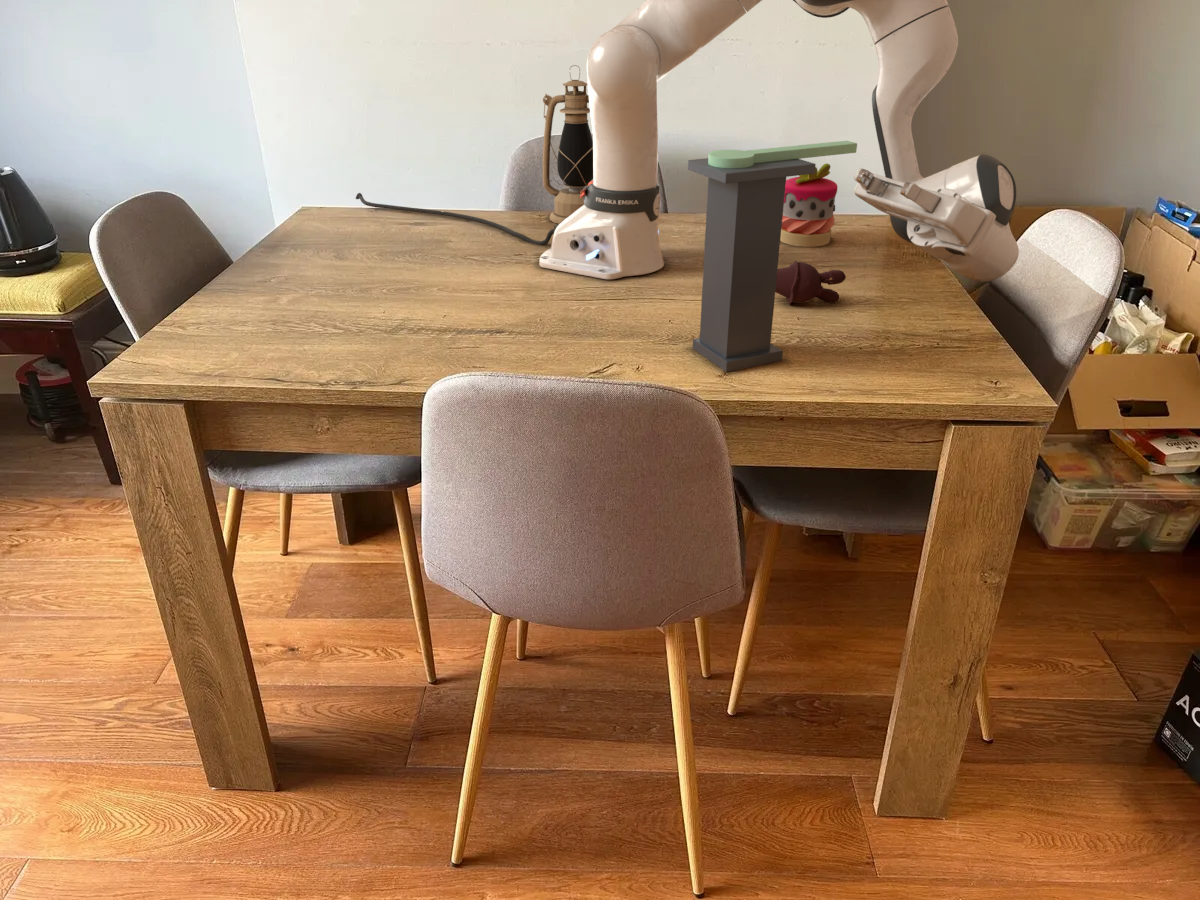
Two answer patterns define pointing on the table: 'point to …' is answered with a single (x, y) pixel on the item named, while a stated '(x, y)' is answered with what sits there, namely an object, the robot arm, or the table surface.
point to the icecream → (807, 283)
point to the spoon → (777, 154)
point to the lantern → (569, 150)
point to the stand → (742, 260)
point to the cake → (809, 209)
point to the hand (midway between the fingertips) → (882, 180)
